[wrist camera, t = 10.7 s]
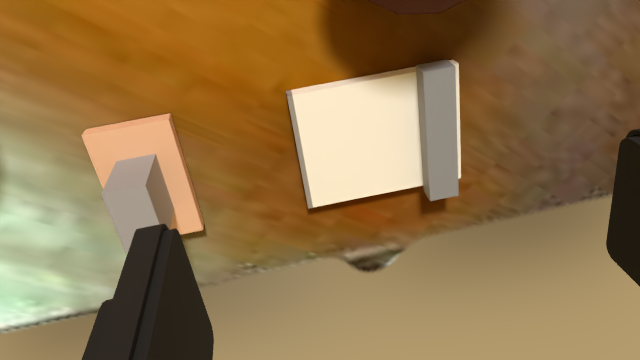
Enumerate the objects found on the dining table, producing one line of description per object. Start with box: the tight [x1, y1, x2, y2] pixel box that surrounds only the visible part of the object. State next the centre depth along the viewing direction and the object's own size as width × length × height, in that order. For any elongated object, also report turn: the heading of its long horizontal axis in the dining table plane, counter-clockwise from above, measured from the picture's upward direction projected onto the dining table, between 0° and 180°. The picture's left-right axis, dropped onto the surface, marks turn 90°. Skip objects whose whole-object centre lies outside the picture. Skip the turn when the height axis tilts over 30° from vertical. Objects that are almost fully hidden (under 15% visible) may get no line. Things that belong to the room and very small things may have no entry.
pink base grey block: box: [82, 113, 204, 253], centre depth 40 cm, size 6×10×6 cm, turn 9°
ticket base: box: [286, 60, 461, 209], centre depth 42 cm, size 13×11×3 cm
